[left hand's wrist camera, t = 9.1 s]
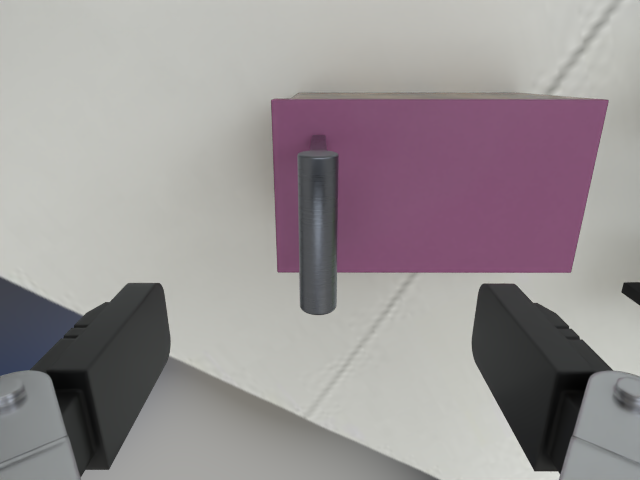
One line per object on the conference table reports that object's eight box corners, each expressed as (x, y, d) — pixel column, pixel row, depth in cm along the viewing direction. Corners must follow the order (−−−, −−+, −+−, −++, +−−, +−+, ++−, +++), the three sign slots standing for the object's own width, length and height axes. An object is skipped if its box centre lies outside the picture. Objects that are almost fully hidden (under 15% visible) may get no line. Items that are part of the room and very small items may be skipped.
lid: (278, 265, 26) (260, 348, 18) (273, 98, 23) (247, 110, 15) (562, 265, 26) (669, 349, 18) (597, 98, 22) (746, 110, 15)
